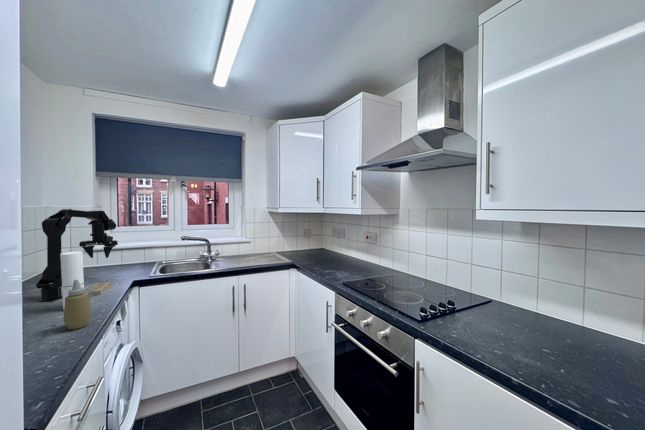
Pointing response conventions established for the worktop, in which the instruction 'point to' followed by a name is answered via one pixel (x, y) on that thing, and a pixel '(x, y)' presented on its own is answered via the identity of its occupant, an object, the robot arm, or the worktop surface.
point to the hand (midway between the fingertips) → (99, 257)
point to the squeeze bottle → (77, 307)
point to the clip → (89, 290)
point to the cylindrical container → (71, 271)
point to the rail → (101, 288)
